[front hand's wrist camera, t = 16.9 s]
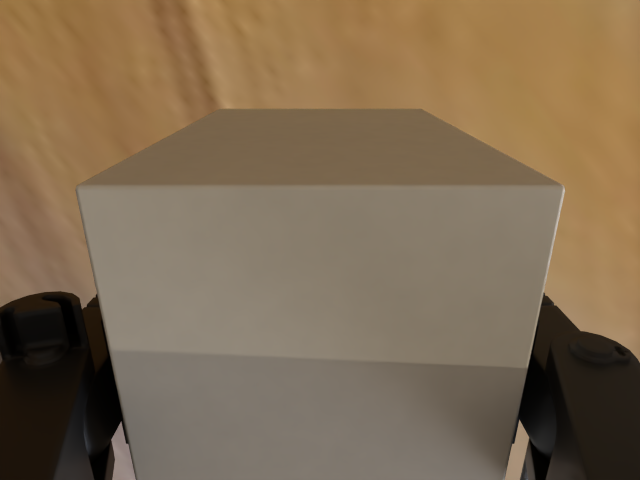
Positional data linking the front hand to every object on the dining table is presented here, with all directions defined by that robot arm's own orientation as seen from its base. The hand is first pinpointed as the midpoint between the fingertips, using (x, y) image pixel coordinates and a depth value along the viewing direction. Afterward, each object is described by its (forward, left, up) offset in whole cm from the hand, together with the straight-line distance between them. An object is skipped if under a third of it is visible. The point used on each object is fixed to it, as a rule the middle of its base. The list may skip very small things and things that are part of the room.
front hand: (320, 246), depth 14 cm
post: (+12, -35, -1) cm, 37 cm away
